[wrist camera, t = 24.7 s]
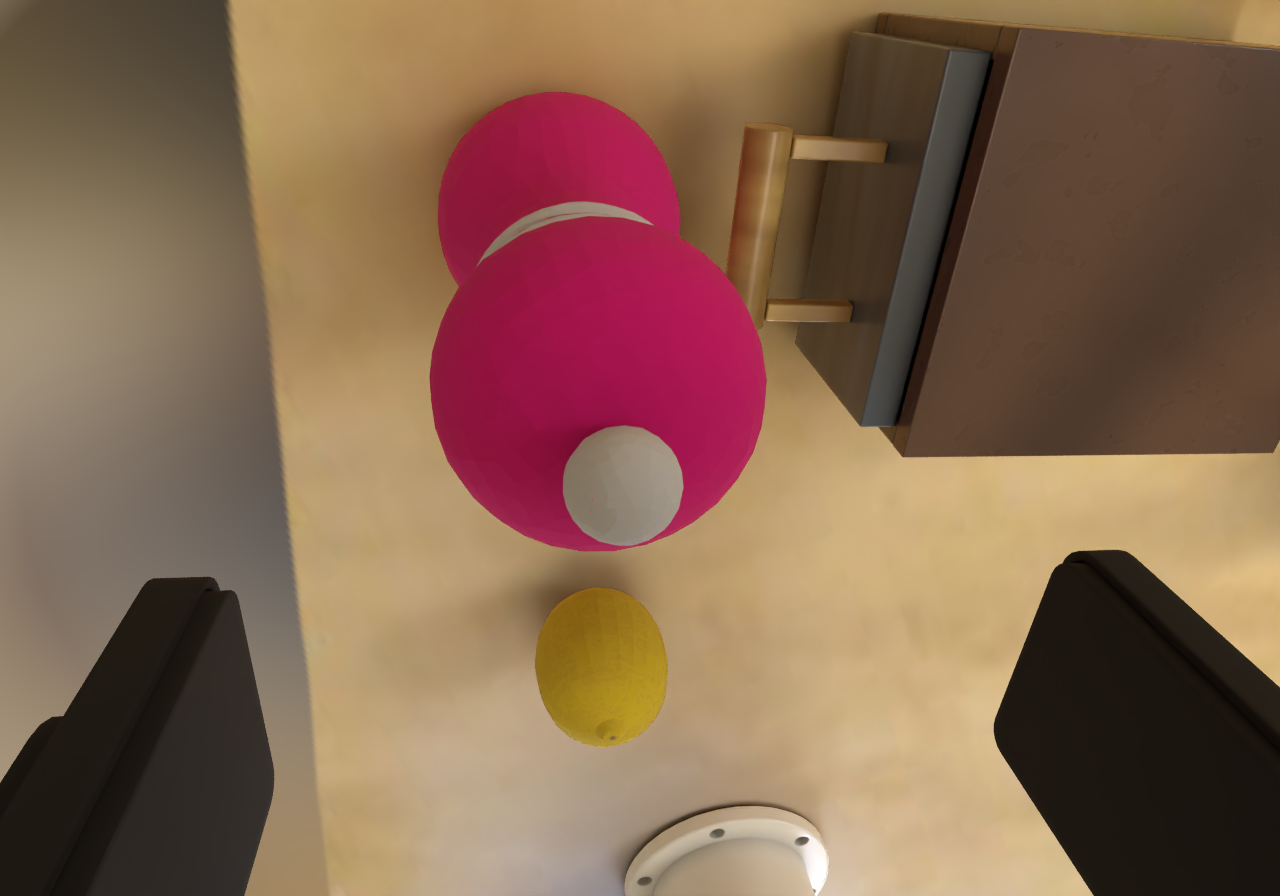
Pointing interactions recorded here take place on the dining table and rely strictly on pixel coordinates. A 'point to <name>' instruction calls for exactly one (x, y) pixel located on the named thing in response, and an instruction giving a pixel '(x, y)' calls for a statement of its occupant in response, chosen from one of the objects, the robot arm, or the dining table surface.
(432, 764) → the dining table surface
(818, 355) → the drawer
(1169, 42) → the cabinet
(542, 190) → the pepper mill
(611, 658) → the lemon
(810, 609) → the dining table surface
